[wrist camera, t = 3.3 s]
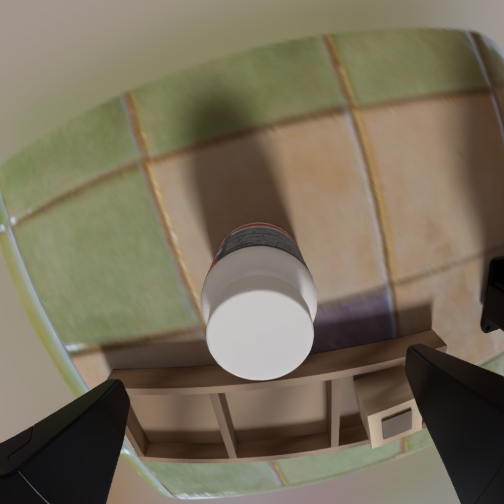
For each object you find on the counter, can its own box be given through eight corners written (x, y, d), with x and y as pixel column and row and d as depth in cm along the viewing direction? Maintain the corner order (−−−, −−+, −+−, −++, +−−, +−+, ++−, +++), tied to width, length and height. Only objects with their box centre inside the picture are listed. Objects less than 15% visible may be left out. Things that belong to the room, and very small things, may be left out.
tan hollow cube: (402, 362, 21) (423, 396, 17) (404, 397, 22) (422, 431, 18) (353, 380, 21) (368, 418, 17) (359, 414, 22) (372, 450, 18)
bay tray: (432, 329, 21) (447, 345, 19) (417, 409, 23) (427, 426, 21) (113, 368, 22) (101, 387, 20) (147, 441, 25) (140, 460, 22)
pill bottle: (212, 224, 19) (177, 272, 11) (299, 218, 19) (333, 263, 10) (220, 304, 21) (199, 393, 12) (301, 300, 20) (327, 387, 12)
